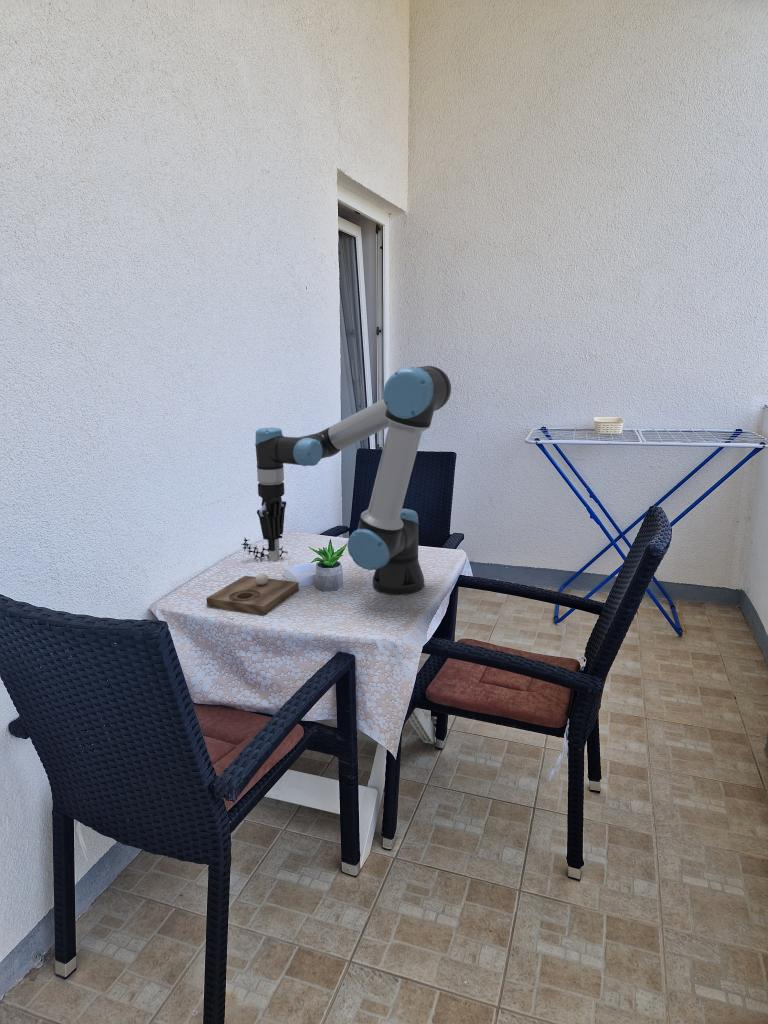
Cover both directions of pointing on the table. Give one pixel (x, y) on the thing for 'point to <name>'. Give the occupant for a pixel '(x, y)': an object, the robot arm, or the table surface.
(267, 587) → the wooden board
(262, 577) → the ball
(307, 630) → the table surface
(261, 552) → the molecular model
